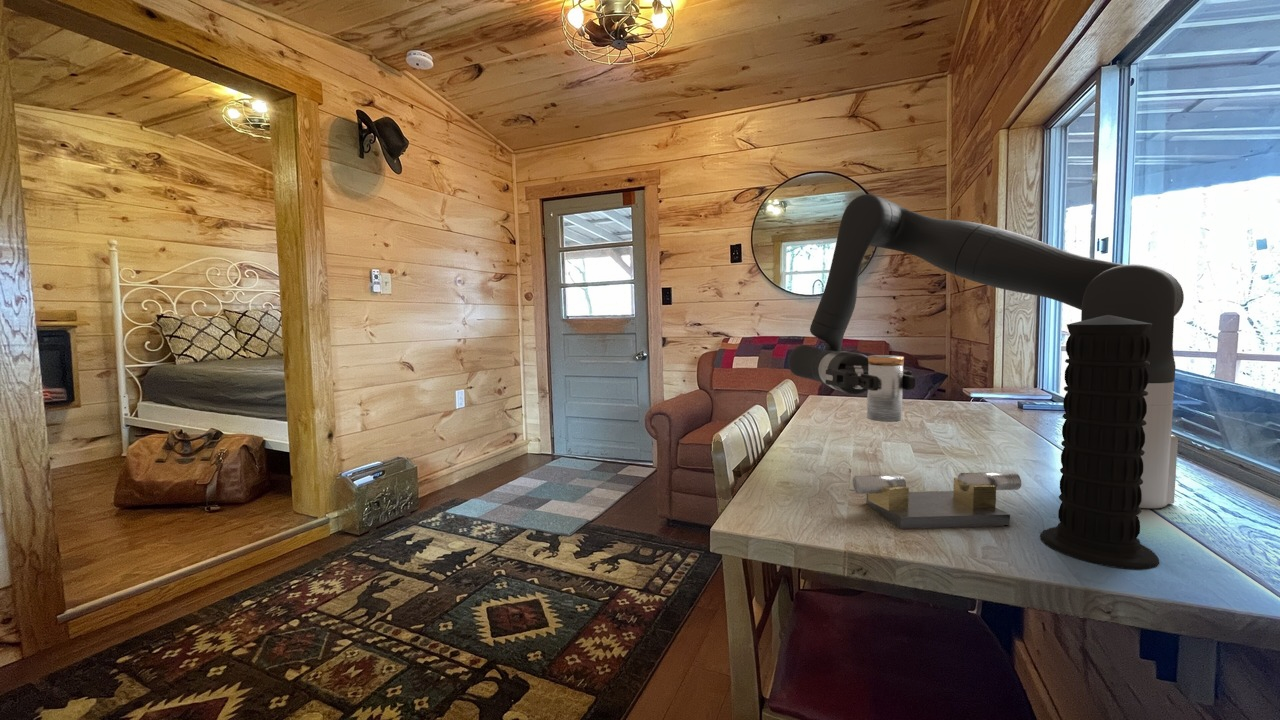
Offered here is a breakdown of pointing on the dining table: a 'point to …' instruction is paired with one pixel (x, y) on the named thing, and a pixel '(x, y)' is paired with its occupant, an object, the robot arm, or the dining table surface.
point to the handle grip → (1103, 444)
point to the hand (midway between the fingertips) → (893, 383)
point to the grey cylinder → (886, 388)
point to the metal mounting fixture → (939, 500)
